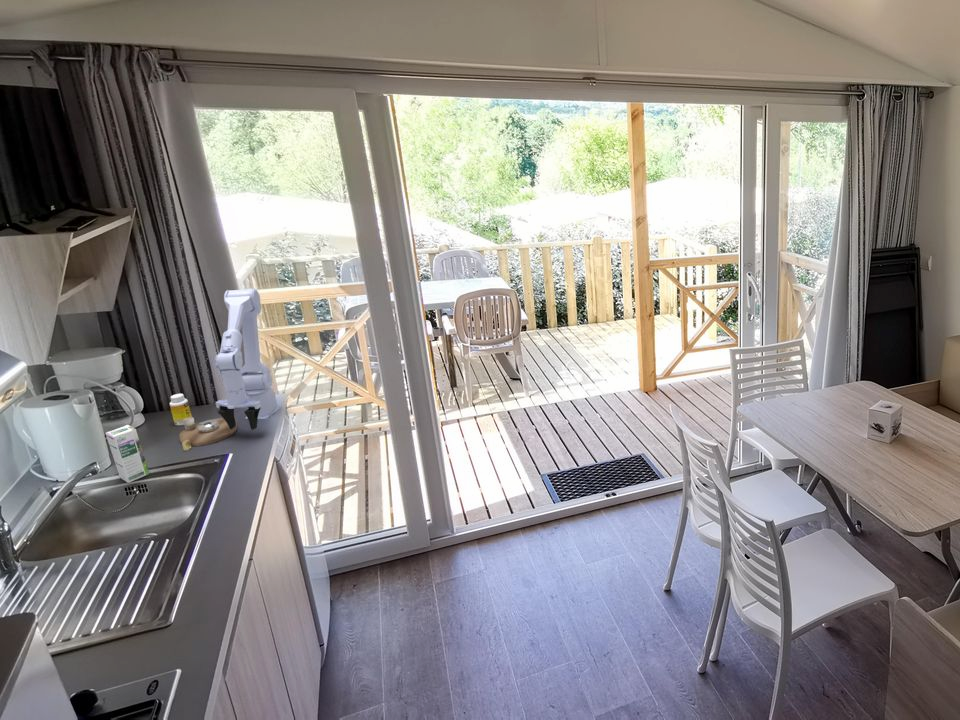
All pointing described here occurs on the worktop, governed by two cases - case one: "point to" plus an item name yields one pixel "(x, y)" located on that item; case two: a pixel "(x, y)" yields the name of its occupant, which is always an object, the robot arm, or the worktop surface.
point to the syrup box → (127, 453)
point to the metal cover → (208, 426)
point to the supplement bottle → (179, 408)
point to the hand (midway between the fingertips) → (243, 428)
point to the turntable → (205, 438)
